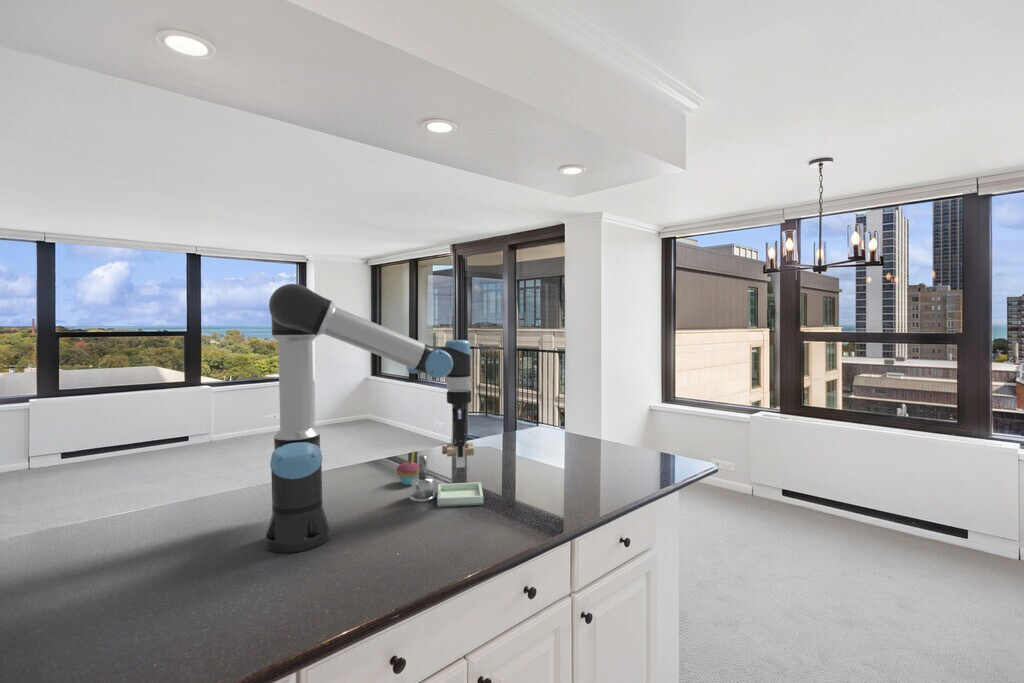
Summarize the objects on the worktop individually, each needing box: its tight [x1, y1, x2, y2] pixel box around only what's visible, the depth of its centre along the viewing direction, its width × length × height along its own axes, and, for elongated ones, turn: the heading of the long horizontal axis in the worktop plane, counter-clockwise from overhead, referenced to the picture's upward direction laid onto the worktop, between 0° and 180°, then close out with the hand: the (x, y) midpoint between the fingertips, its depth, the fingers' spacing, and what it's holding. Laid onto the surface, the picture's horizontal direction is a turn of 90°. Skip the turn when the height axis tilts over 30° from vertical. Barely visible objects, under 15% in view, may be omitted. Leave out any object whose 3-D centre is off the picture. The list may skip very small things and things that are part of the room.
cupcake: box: [395, 450, 419, 486], centre depth 172 cm, size 9×8×12 cm
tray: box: [436, 481, 484, 508], centre depth 157 cm, size 14×14×2 cm
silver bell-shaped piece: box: [409, 454, 437, 503], centre depth 157 cm, size 8×8×13 cm
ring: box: [441, 442, 475, 457], centre depth 157 cm, size 8×10×2 cm
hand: (460, 462), depth 157 cm, fingers closed on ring, 8 cm apart
